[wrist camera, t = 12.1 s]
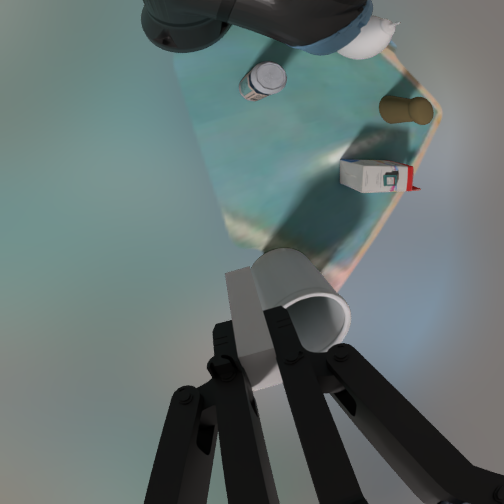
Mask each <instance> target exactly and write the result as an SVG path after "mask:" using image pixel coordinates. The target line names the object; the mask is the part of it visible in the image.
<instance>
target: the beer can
mask: <svg viewBox="0 0 504 504" xmlns="http://www.w3.org/2000/svg"><path fill="white" fill-rule="evenodd" d="M286 82H287V76H286V72H285V70H284V69H283V68H282V67H281V66H280V65H279V64H277V63H275V62H272V61H264V62H260V63H259V64H257V65H256V66H255V67H254V68H253V69H252V70H251V71H250V72H249V73H248V74H247V75H246V76H245V77H244V78H243V79H242V80H241V81H240V84H239V91H240V94H241V95H242V96H243V97H244V98H245V99H247V100H249V101H258V100H260V99H262V98H264V97H267V96H269V95H271V94H275V93H278V92H280V91H281V90H282V89H283V88H284V87H285V85H286Z"/></svg>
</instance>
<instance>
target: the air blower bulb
mask: <svg viewBox="0 0 504 504" xmlns="http://www.w3.org/2000/svg"><path fill="white" fill-rule="evenodd" d="M400 23H401V22H396V23H392V22H391V21H390V20H388V19H382V18H379V17H376V16H372V15H371V18H370V20H369V21H368V23H367V25H366V26H363V27H362V28H361V32H360V34H359V35H358V36H357V37H356V38H355V39H354V40H353V41H352V42H350V43H349V44H348V45H346V46H345V47H344V48H342V49H340V50H338V51H337V52H338V53H339V54H341V55H343V56H345V57H347V58H351V59H359V60H360V59H367V58H370V57H373V56H375V55H377V54H379V53H380V52H381V51H382V50H384V49H385V48H386V46H387V45H388V44H389V42H390V40H391V38H392V35H393V34H394V32H395V26H396V25H398V24H400Z"/></svg>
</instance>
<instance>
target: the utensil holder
mask: <svg viewBox="0 0 504 504" xmlns="http://www.w3.org/2000/svg"><path fill="white" fill-rule="evenodd" d="M250 270H251V273H252V276H253V280H254V283H255V286H256V290H257V293H258V297H259V300H260V303H261V307H262V310H263V311H264V310H267V309H270V308H274V307H277V306H283V307H284V308H285V309H286V310H288V313H289V315H290V318H291V320H292V323H293V325H294V327H295V330H296V332H297V335H298V337H299V340H300V342H301V344H302V346H303V347H304V348H305V349H306V350H308V351H311V352H327V351H328V349H329V348H331V347H332V346H333V345H336V344H340V343H341V342H342V340H343V339H344V338H345V336H346V334H347V332H348V330H349V327H350V324H351V311H350V308H349V306H348V304H347V303H346V301H345V300H344V299H343V298H342V297H341V296H340V295H339V294H338V293H336V291H335V290H334V289H333V288H332V286H331V285H330V284H329V283H328V282H327V280H326V279H325V278H324V277H323V275H322V274H321V273H320V272H319V271H318V269H317V268H316V267H315V266H314V265H313V264H312V262H311V261H310V260H309V259H308V258H307V257H306V256H305V255H304V254H303V253H301V252H300V251H298V250H295V249H291V248H279V249H274V250H271V251H269V252H267V253H265V254H263V255H262V256H261V257H259V258H258V259H257V260H256V262H255V263H254V264H253V266H252V267H251V269H250Z"/></svg>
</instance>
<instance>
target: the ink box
mask: <svg viewBox="0 0 504 504" xmlns="http://www.w3.org/2000/svg"><path fill="white" fill-rule="evenodd" d="M340 184H343V185H345V186H347V187H350V188H352V189H354V190H357V191H359V192H361V193H372V192H397V191H418V190H421V189H420V188H417V187H414V186H413V166H409V165H406V164H402V163H398V162H393V161H388V160H349V159H340Z"/></svg>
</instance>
